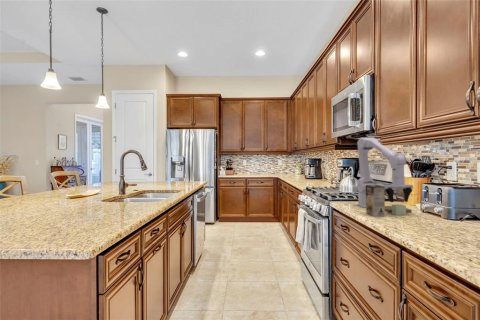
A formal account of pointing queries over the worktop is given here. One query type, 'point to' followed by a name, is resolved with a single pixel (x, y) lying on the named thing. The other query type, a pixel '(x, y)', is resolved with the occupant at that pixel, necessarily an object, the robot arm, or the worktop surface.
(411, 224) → the worktop surface
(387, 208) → the walnut board
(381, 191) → the coffee box
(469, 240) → the worktop surface
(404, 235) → the worktop surface
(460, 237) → the worktop surface
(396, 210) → the sage block
